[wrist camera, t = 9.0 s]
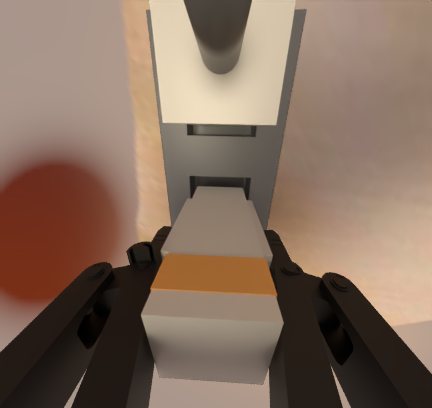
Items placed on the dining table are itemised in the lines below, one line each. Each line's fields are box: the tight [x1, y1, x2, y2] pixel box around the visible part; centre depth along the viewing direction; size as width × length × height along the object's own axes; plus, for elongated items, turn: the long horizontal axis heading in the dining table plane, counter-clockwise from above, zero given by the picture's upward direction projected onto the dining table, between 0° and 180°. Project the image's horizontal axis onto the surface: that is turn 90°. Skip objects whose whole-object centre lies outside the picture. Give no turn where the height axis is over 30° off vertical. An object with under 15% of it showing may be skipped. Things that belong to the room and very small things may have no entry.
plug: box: [141, 186, 284, 385], centre depth 10 cm, size 4×4×11 cm
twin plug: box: [149, 0, 296, 126], centre depth 8 cm, size 4×4×14 cm
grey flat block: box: [146, 9, 307, 230], centre depth 16 cm, size 10×18×4 cm, turn 179°
